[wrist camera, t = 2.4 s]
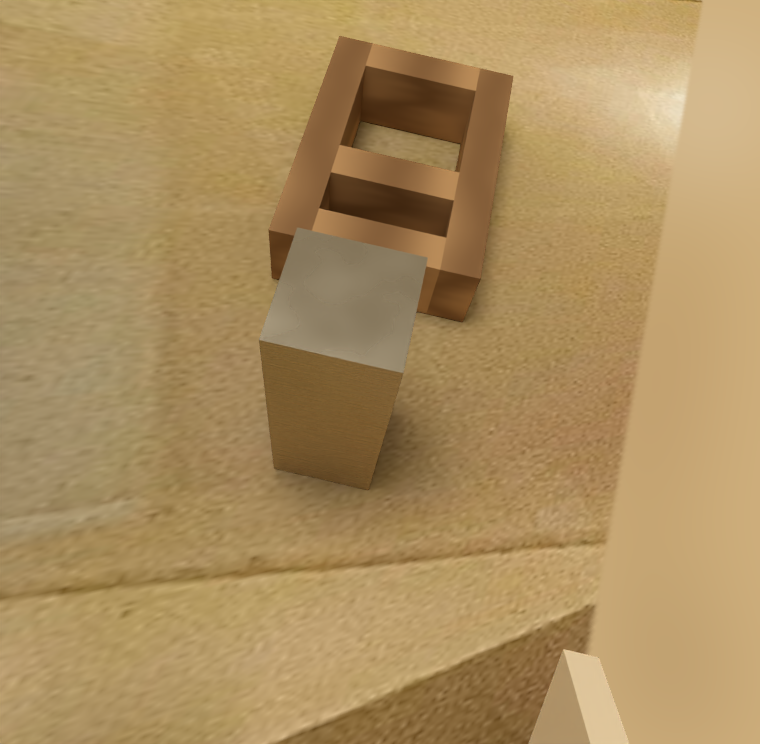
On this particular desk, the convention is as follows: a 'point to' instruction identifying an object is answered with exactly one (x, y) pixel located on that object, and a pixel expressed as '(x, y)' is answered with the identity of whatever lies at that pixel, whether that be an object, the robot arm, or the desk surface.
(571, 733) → the robot arm
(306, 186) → the wooden slotted frame
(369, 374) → the grey tall rectangular block
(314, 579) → the desk surface
